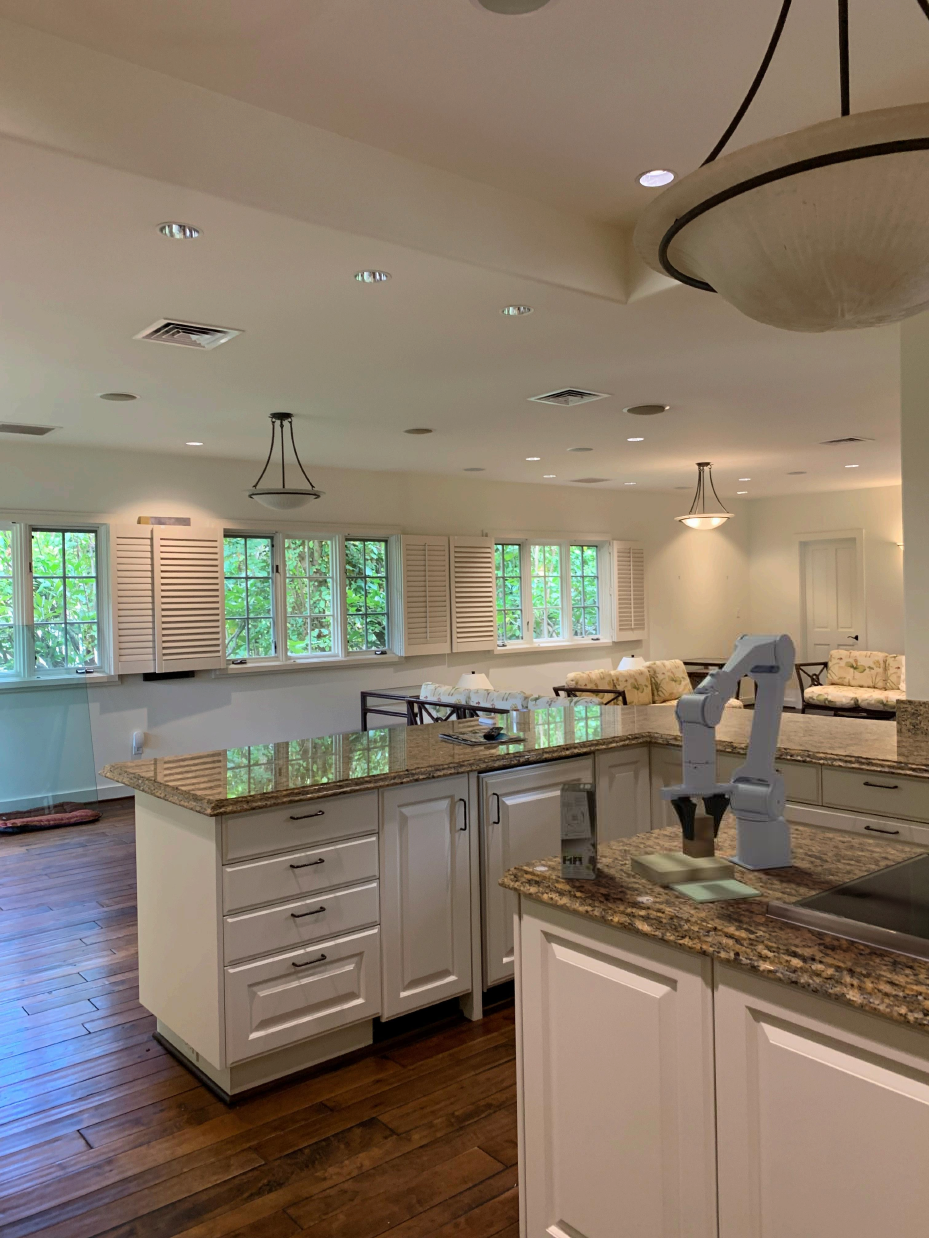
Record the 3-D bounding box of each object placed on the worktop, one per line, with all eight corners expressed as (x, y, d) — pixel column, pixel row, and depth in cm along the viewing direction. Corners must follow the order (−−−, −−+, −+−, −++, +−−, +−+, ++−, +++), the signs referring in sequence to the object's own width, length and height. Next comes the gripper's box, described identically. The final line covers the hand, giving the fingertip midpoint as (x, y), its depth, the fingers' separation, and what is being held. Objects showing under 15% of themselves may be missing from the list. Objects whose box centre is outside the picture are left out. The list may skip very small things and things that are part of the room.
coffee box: (596, 880, 159) (594, 790, 160) (560, 878, 161) (559, 790, 161) (598, 866, 168) (597, 781, 168) (564, 865, 170) (563, 781, 170)
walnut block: (702, 851, 159) (701, 812, 159) (714, 856, 155) (713, 816, 155) (682, 853, 158) (681, 814, 158) (694, 858, 154) (693, 818, 154)
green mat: (728, 879, 158) (728, 877, 158) (761, 895, 149) (761, 892, 149) (669, 886, 155) (669, 883, 155) (698, 902, 145) (698, 899, 145)
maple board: (701, 862, 169) (701, 849, 169) (734, 878, 159) (734, 864, 159) (631, 870, 165) (630, 856, 165) (660, 886, 155) (659, 872, 155)
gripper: (722, 756, 162) (723, 830, 162) (651, 760, 158) (652, 836, 158) (745, 761, 155) (746, 838, 155) (671, 766, 151) (672, 845, 151)
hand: (700, 838), depth 156 cm, fingers closed on walnut block, 4 cm apart
